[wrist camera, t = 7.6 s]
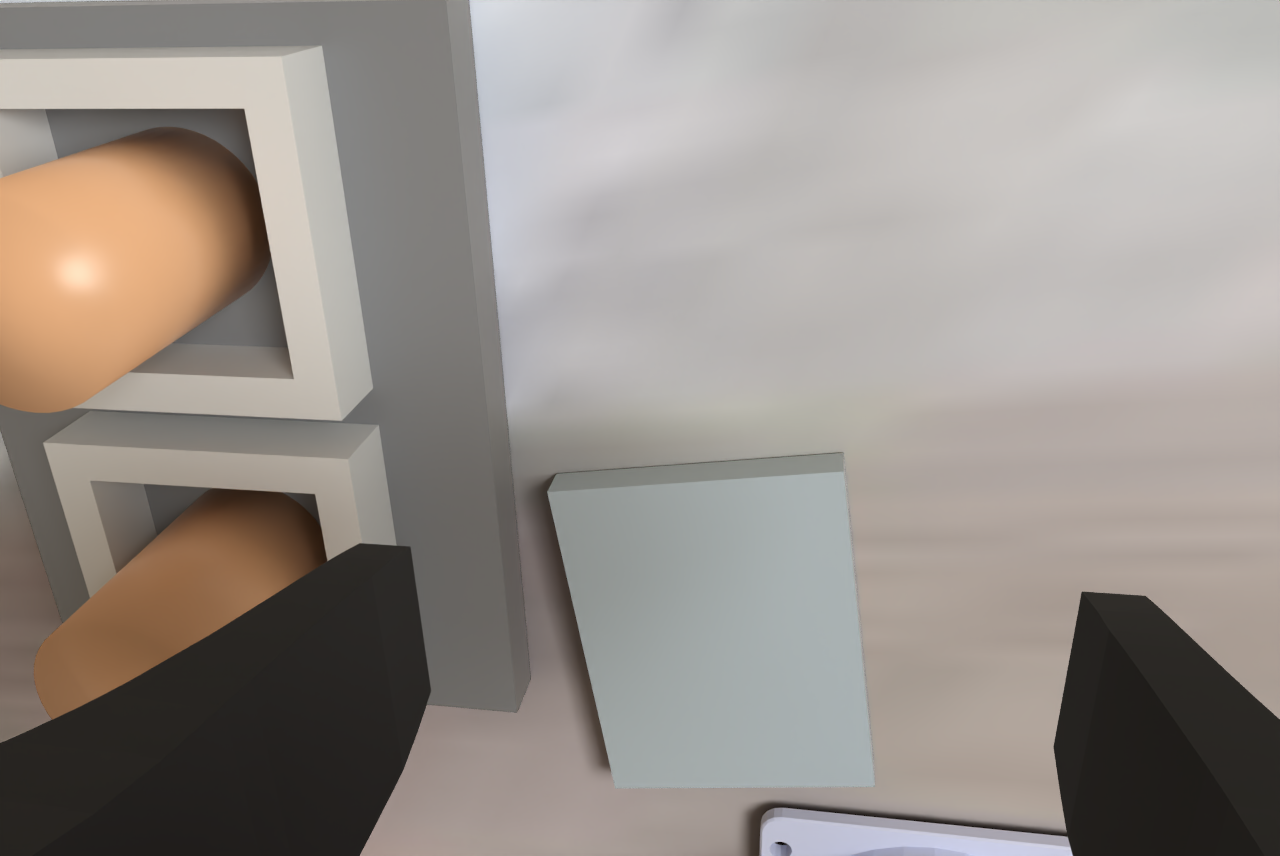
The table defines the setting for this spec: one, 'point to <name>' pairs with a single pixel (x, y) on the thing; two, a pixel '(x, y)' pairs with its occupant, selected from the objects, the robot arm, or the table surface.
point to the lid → (720, 621)
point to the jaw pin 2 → (179, 592)
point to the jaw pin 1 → (119, 260)
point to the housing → (295, 303)
